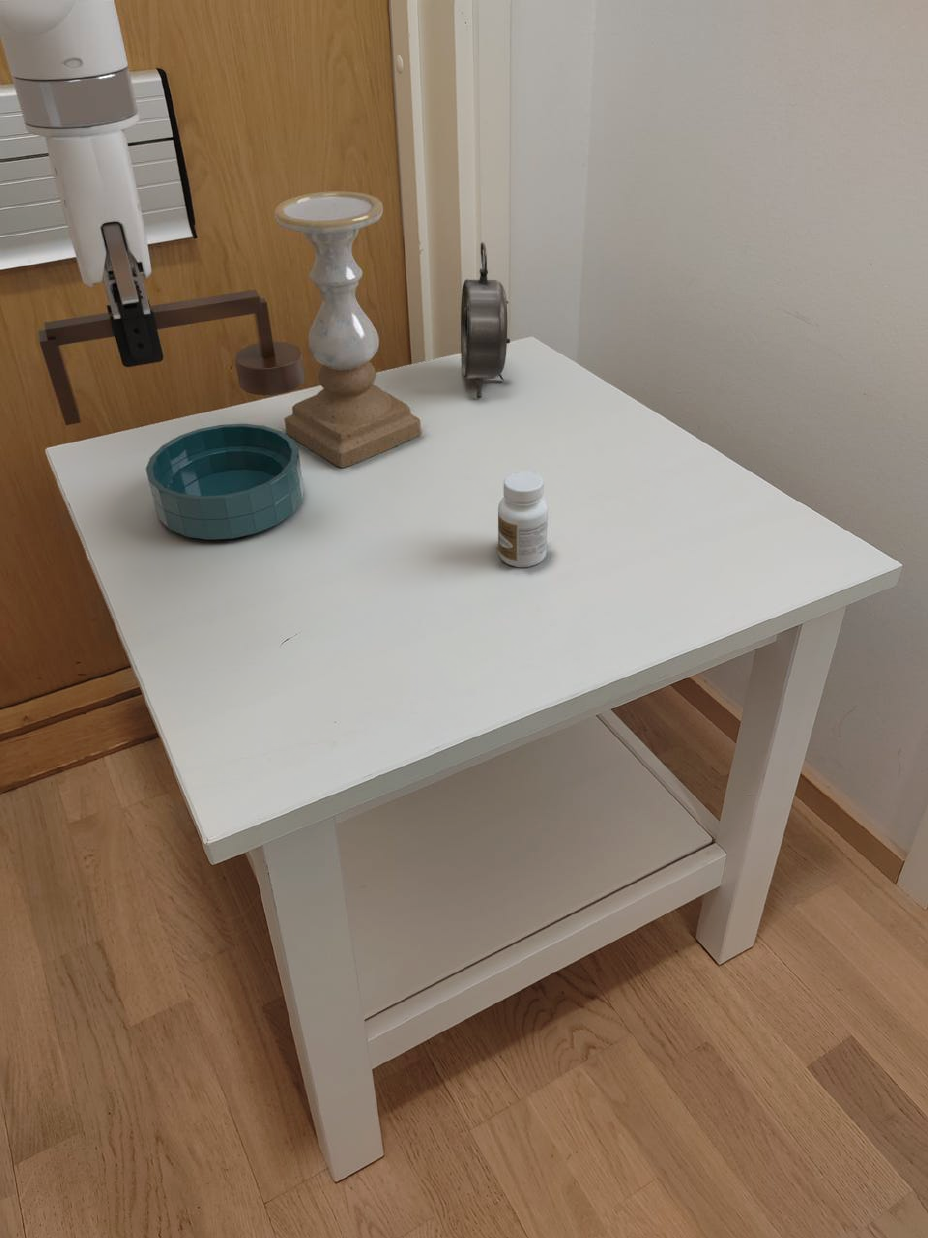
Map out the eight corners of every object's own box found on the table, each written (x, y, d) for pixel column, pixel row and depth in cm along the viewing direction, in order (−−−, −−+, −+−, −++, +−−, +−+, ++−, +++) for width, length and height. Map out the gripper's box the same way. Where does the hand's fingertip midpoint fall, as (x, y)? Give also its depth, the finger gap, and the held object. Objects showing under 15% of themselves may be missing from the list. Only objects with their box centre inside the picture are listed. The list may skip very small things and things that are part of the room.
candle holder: (363, 401, 111) (342, 182, 96) (423, 434, 104) (410, 205, 89) (284, 432, 105) (247, 206, 90) (341, 469, 99) (312, 232, 84)
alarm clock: (460, 363, 118) (456, 228, 108) (503, 361, 118) (504, 226, 108) (465, 404, 110) (462, 261, 99) (512, 401, 110) (513, 259, 99)
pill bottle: (491, 545, 88) (491, 472, 83) (536, 536, 89) (538, 463, 84) (507, 572, 84) (507, 498, 79) (553, 563, 85) (557, 488, 80)
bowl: (168, 558, 87) (156, 512, 84) (150, 483, 98) (138, 439, 94) (319, 524, 91) (312, 479, 88) (286, 455, 101) (279, 413, 98)
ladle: (296, 362, 85) (283, 275, 80) (312, 388, 81) (300, 298, 76) (62, 404, 79) (34, 314, 74) (67, 434, 75) (37, 340, 70)
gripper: (16, 86, 70) (85, 329, 81) (24, 131, 58) (102, 407, 70) (121, 76, 72) (174, 315, 83) (149, 118, 60) (205, 388, 72)
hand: (141, 355), depth 77 cm, fingers closed on ladle
